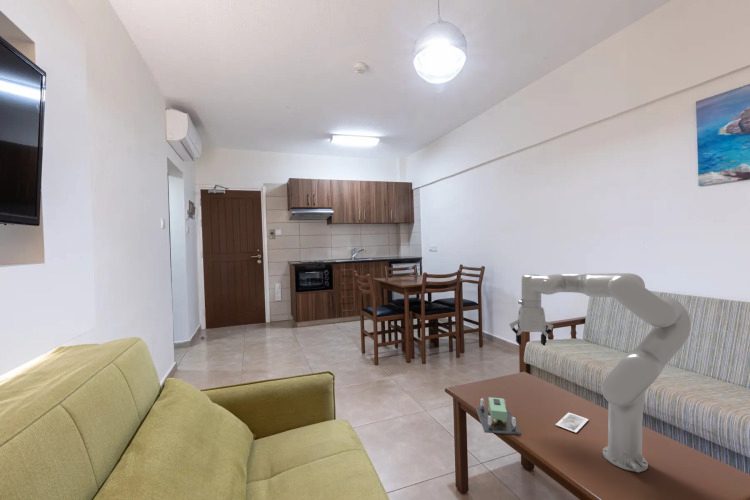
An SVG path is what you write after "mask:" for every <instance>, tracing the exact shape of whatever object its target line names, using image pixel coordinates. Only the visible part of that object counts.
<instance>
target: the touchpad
mask: <svg viewBox="0 0 750 500" xmlns="http://www.w3.org/2000/svg"><path fill="white" fill-rule="evenodd" d="M588 421H589V418H586V417H583V416H580V415H577V414H575V413H572V412H567V413H566V414H565V415H564V416H563V417H562V418H561V419H560V420H559V421H558V422H557V423H555V425H556V426H557V427H561V428H563V429H566V430H568V431H571V432H574V433H575V434H576V433H578V432H579V431H580V430H581V429H582V428H583V426H584V425H585V424H586V423H587V422H588Z"/></svg>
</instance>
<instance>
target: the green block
mask: <svg viewBox="0 0 750 500" xmlns="http://www.w3.org/2000/svg"><path fill="white" fill-rule="evenodd" d="M503 399H504V398H502V397H501V398H500V397H490V396H488V407H489V410H490V415H491V416H492V419H497V420H506V421H507V411H506V409H507V408H506V403H505V404H504V401H503Z"/></svg>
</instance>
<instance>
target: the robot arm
mask: <svg viewBox="0 0 750 500" xmlns="http://www.w3.org/2000/svg"><path fill="white" fill-rule="evenodd" d="M558 293H578V294H583V295H586V296H587V297H592V298H593V297H594V298H595V297H596V298H613V299H615V300H616V301H617V302H618V303H620V305H622V306H623V307H624V308H626V309H627V310H629V311H630V312H631V313H633V314H634V315H635V316H637V317H638V318H639V319H641V320H642V321H643V322H645V323H646V324H649V325H651V326H653V327H652V328H651V330H650V331H649V332H648V333H647V334H646V336H645V337H644V339H642V340H641V342H640V343H639V344H638V345H637V346H636V347H635V348H633V349H632V350H630V351H629V352H628V353H627V354H626V355H624V357H622V359H621V360H620V361H619V362H618V363H617V365H616V366H615V367H614V368H613V369H612V370H611V371H610V372H609V374H608V375H607V376H606V377H605V378H604V379H603V381H602V382H601V386H600V387H601V393H602V396H603V397H604V399H605V400H606V401H607V402H608V413H607V416H608V417H607V421H608V422H607V426H608V427H607V445H606V446H605V447H603V448H602V455H603V457H604V459H606V460H607V461H608V462H609V463H610V464H612V465H614V466H615V467H618V468H620V469H621V470H622V469H623V470H626V471H630V472H635V473H641V472H644V471H645V472H646V470H648V468H649V464H648V461H647V460H646V459H645V458H644V456H643V420H644V419H643V416H644V414H643V413H644V401H645V400H644V399H645V392H646V391H647V390H648V389H649V388H650V387H651V386H652V385H653V384H654V383H655V381H656V380H657V379H658V377H660V375H661V373H662V372H663V371H664V368H665V366H666V365H668V363H670V361H671V360H672V359H673V358H674V356H675V355H676V354H677V353H678V352H679V350H680V349H681V348H682V347H683V346H684V345H685V343H686V342H687V341H688V338H689V336H690V333H691V329H692V323H691V322H692V321H691V317H690V314H689V312H688V310H687V309H686V308H685V306H684V305H683V304H682V303H681V302H680V301H679V300H677V299H675V298H673V297H670V296H663V295H662V296H658V295H656V294H655V293H653V292H652V291H651V290H649V289H648V288H646V283H645V281H644V280H643V278H642V277H641V276H640V275H638V274H634V273H630V272H628V273H624V272H623V273H619V272H617V273H613V272H611V273H609V272H608V273H569V274H568V273H567V274H566V273H560V274H559V273H556V274H555V273H554V274H549V275H542V276H541V275H539V274H533V273H526V274H522V276H521V299H520V300H518V301H517V303H518V305H520V306H519V309H518V315H517V319H516V320H514V321H513V322H510V323H509V327H510V329H511V330H512V331H513V333H515V342H516V343H517V344H518V345H519V346H520V345H522V335H521V334H522V333H523V332H526V333H530V332H531V333H541V334H540V344H541V345H542V346H546V344H547V336H548V335H549V334H550V333H551V332H552V330H553V328H554V325H553V324H551V322H548V321H546V313H545V310H544V309H545V308H544V307H543V306H542V294H543V295H546V296H547V295H554V294H558ZM515 326H517V328H515ZM546 327H547V328H546Z"/></svg>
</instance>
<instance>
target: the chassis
mask: <svg viewBox="0 0 750 500" xmlns="http://www.w3.org/2000/svg"><path fill="white" fill-rule="evenodd" d="M502 399H503V401H504V404H505V405H506V398H502ZM479 404H480V407H476V413H477V415H478V419H479V421H480V424H481V427H482V430H483V432H484V433H485V434H486V433H487V434H502V435H504V434H505V435H522V432H521V430H520V428H519V426H518V424H517V420H516V419H517V418H516V417H515V416H513V415H512V413H511V412H510V410H509V409H507V408H506V411H507V421H506V420H497V419H492V416H491V415H490V410H489V406H487V407H488V408H487V407H486V408H485V398H484V397H481V398H480V403H479Z"/></svg>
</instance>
